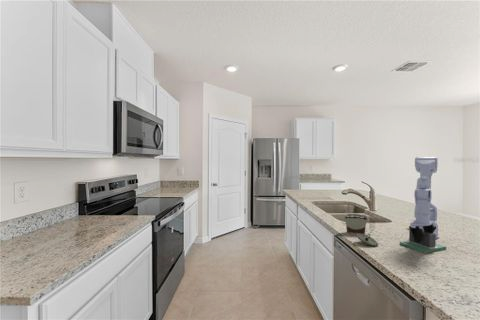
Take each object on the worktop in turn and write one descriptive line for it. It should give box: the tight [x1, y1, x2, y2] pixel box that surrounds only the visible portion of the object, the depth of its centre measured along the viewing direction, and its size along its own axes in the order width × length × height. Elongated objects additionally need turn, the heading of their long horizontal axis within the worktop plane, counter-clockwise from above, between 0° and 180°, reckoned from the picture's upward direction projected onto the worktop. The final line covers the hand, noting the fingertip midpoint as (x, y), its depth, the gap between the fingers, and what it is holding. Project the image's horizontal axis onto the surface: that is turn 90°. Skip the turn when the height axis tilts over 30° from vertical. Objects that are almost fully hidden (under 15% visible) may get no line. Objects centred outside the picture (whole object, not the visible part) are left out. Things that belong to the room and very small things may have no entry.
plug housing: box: [406, 227, 437, 248], centre depth 122 cm, size 4×12×6 cm, turn 20°
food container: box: [344, 213, 369, 235], centre depth 144 cm, size 12×6×10 cm, turn 74°
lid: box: [355, 233, 379, 247], centre depth 125 cm, size 11×10×5 cm
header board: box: [399, 240, 447, 254], centre depth 120 cm, size 15×12×4 cm
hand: (422, 241), depth 120 cm, fingers open, 7 cm apart
